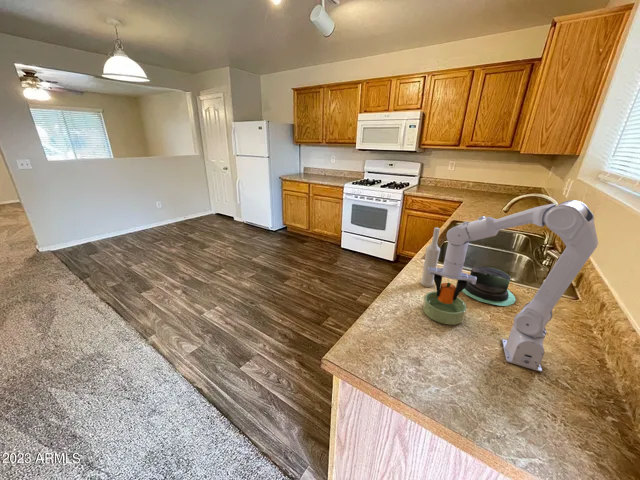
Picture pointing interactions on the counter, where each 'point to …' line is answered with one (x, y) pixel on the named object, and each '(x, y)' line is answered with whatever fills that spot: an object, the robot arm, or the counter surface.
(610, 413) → the counter surface
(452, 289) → the pepper
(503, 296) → the chocolate cake
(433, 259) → the bottle
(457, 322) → the bowl
